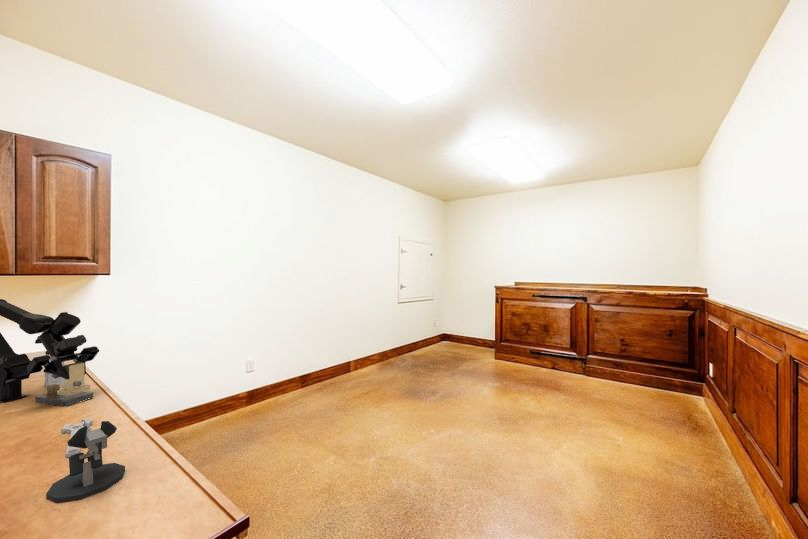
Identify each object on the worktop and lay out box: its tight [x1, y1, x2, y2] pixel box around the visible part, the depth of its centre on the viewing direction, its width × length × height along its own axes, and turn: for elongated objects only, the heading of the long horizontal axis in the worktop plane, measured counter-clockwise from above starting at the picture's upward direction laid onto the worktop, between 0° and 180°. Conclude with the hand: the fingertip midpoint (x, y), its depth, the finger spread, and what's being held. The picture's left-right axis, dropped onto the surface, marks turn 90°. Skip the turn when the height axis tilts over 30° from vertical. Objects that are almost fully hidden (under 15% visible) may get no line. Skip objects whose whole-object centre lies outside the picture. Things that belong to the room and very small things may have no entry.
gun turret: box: [45, 420, 126, 504], centre depth 76 cm, size 13×20×13 cm, turn 50°
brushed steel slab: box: [34, 384, 94, 407], centre depth 123 cm, size 16×8×5 cm, turn 74°
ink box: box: [44, 362, 65, 389], centre depth 139 cm, size 9×5×12 cm, turn 52°
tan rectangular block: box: [57, 362, 91, 396], centre depth 122 cm, size 5×7×10 cm
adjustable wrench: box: [60, 417, 94, 458], centre depth 94 cm, size 25×6×2 cm, turn 37°
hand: (76, 376), depth 121 cm, fingers closed on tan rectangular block, 4 cm apart
